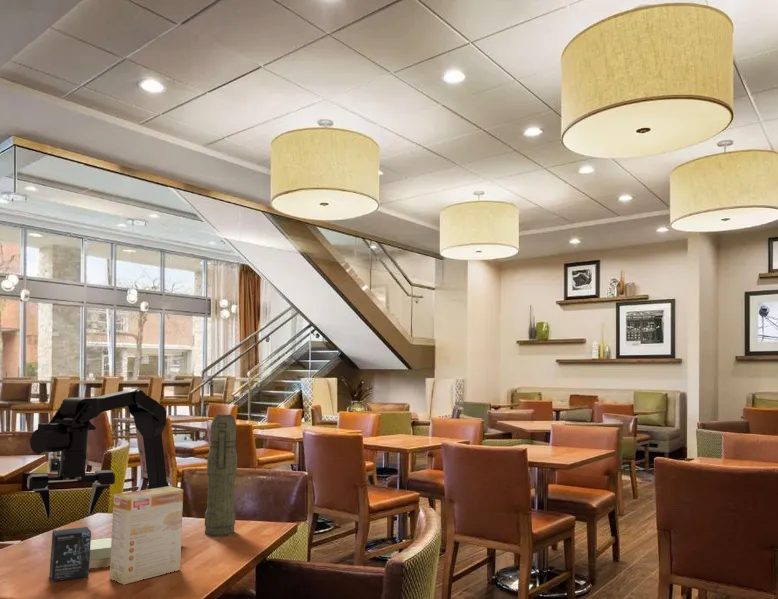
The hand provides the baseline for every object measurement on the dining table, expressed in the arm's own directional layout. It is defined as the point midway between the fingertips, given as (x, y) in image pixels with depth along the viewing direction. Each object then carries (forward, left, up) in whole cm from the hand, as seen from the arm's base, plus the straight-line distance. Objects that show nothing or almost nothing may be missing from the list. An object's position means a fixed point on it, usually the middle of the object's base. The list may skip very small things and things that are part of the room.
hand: (69, 516), depth 159 cm
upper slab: (-10, -8, -12) cm, 17 cm away
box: (-1, +2, -14) cm, 14 cm away
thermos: (-44, -23, -14) cm, 51 cm away
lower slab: (-10, -8, -14) cm, 19 cm away
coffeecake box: (-17, +9, -14) cm, 23 cm away
